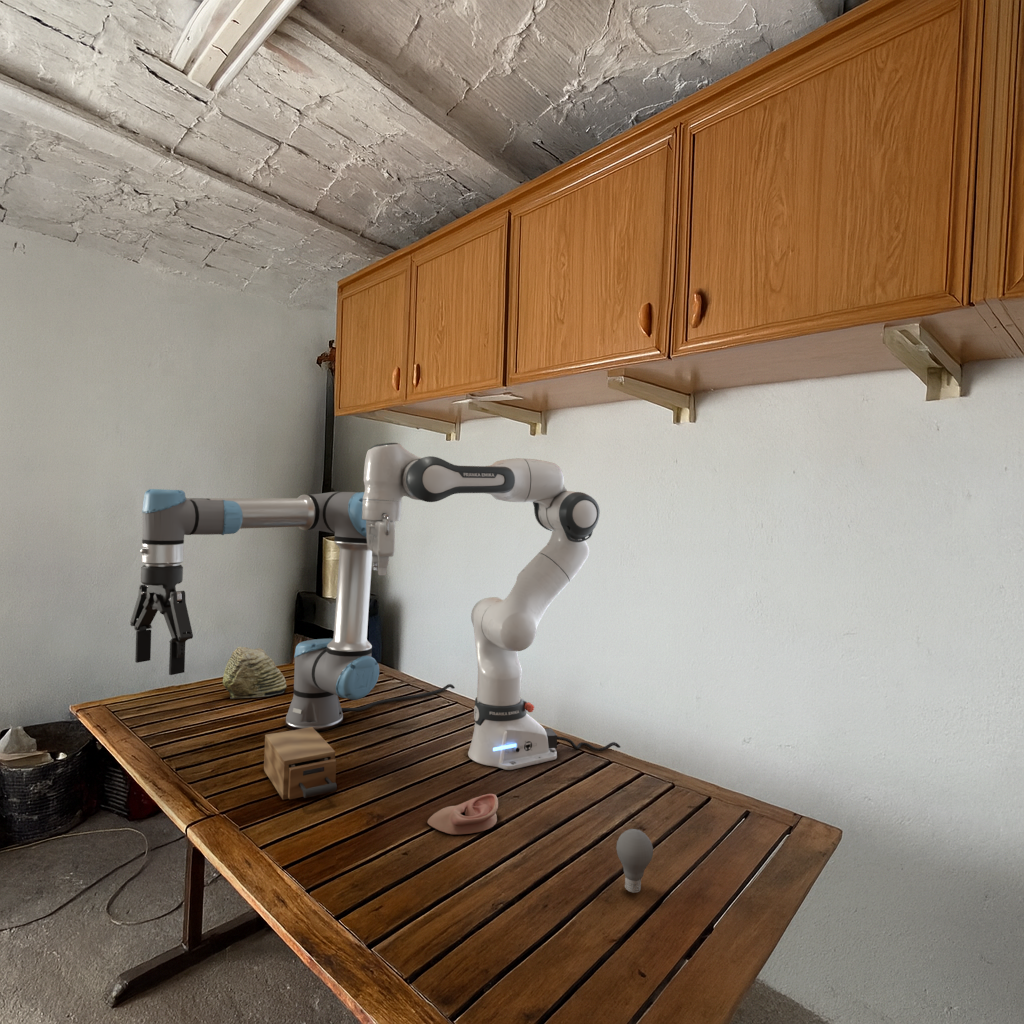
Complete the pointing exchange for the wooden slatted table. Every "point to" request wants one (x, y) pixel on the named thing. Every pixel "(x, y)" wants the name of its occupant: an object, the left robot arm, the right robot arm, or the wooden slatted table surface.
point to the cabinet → (292, 754)
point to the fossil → (252, 674)
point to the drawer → (312, 778)
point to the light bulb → (634, 857)
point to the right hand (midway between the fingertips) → (379, 572)
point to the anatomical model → (467, 816)
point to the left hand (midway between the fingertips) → (159, 667)
